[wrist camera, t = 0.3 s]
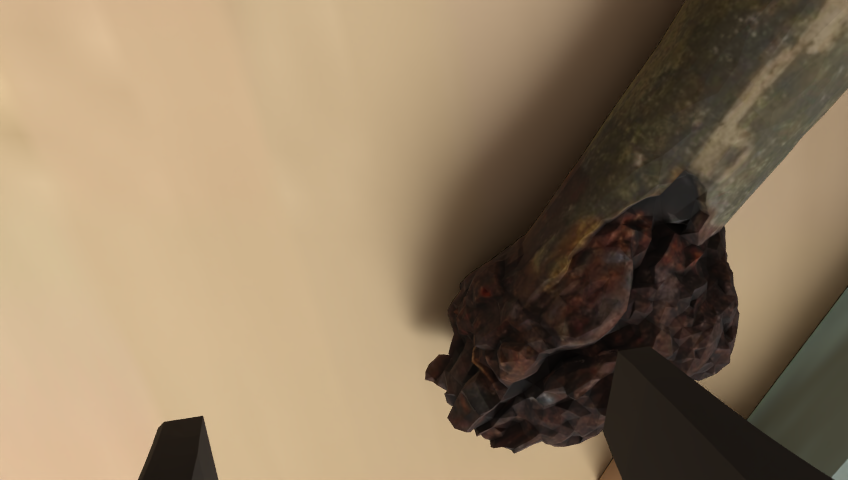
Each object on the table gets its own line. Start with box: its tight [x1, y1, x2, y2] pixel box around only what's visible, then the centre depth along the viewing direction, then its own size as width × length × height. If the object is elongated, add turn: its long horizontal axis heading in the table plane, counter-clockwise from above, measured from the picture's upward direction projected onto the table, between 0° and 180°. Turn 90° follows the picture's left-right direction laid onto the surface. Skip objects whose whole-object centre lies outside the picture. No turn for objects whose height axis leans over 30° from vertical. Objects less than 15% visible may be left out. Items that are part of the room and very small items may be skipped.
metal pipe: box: [425, 0, 848, 453], centre depth 20 cm, size 18×7×6 cm, turn 147°
